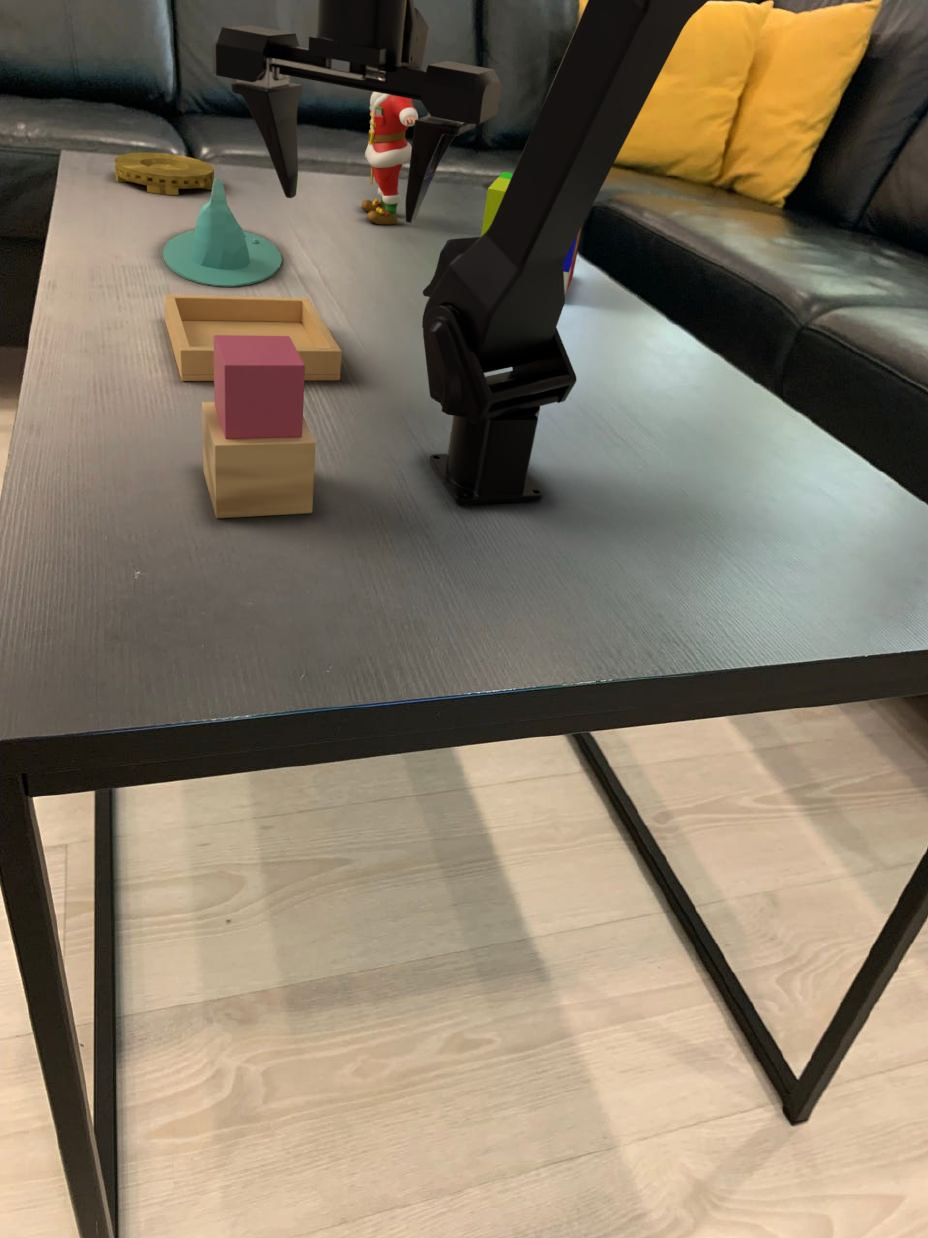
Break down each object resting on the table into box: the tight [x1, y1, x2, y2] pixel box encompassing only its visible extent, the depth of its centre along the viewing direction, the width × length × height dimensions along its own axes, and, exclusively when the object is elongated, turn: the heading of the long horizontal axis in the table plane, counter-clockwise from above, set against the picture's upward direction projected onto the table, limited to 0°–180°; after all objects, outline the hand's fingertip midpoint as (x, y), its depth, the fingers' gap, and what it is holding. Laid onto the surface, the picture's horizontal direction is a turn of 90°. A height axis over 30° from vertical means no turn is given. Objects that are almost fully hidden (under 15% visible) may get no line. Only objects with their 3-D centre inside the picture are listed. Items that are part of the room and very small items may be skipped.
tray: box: [163, 293, 343, 382], centre depth 79 cm, size 13×13×2 cm
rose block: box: [213, 335, 305, 439], centre depth 56 cm, size 5×5×5 cm
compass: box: [114, 151, 215, 196], centre depth 119 cm, size 12×12×2 cm
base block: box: [201, 401, 317, 519], centre depth 59 cm, size 6×6×5 cm
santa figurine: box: [361, 69, 419, 226], centre depth 116 cm, size 25×6×19 cm, turn 12°
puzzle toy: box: [480, 171, 585, 296], centre depth 104 cm, size 10×10×10 cm
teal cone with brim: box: [162, 178, 283, 288], centre depth 97 cm, size 12×20×9 cm, turn 7°
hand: (349, 209), depth 68 cm, fingers open, 9 cm apart
